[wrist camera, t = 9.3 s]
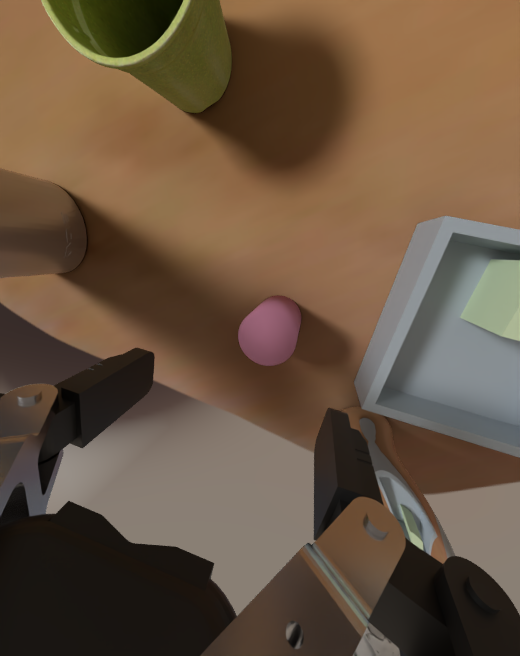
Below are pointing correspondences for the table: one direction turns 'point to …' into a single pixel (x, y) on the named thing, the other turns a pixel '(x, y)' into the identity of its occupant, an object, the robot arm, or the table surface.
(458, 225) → the tub
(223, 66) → the plant pot
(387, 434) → the beer glass
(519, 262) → the sage block
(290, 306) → the plum cylinder
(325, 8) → the table surface
